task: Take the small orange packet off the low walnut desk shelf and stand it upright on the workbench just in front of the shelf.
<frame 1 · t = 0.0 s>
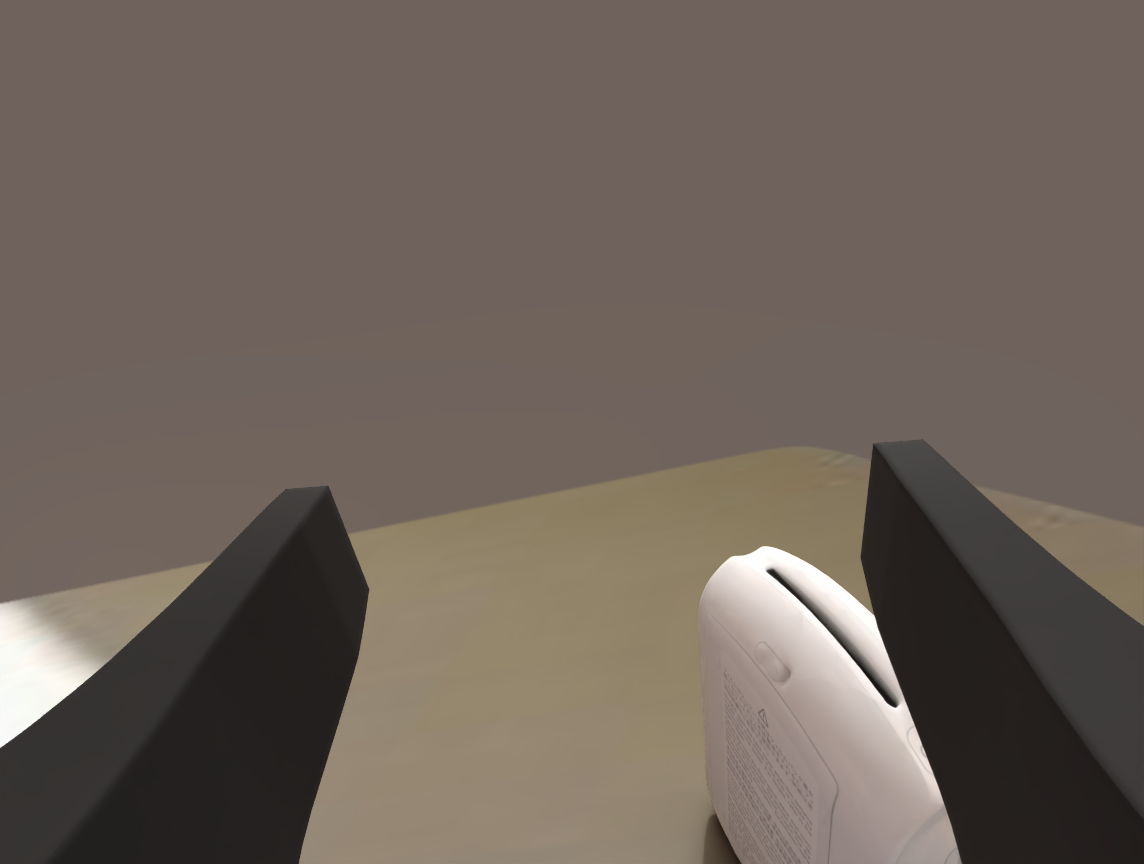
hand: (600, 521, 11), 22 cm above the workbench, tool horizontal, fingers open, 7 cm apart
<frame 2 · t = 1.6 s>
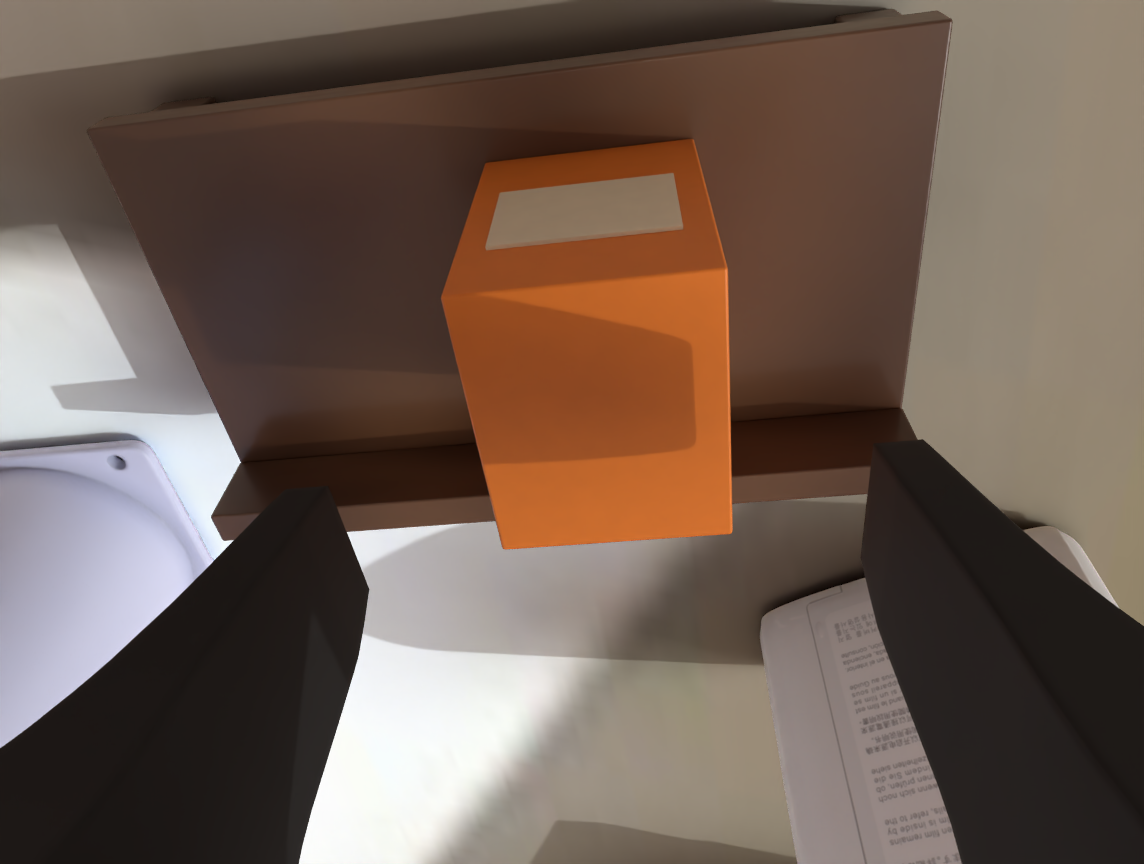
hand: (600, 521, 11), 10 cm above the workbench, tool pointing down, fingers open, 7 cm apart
photo printer: (907, 593, 27), on the workbench
shelf: (542, 242, 20), on the workbench
packet: (601, 269, 17), point 3 cm above the workbench, touching shelf
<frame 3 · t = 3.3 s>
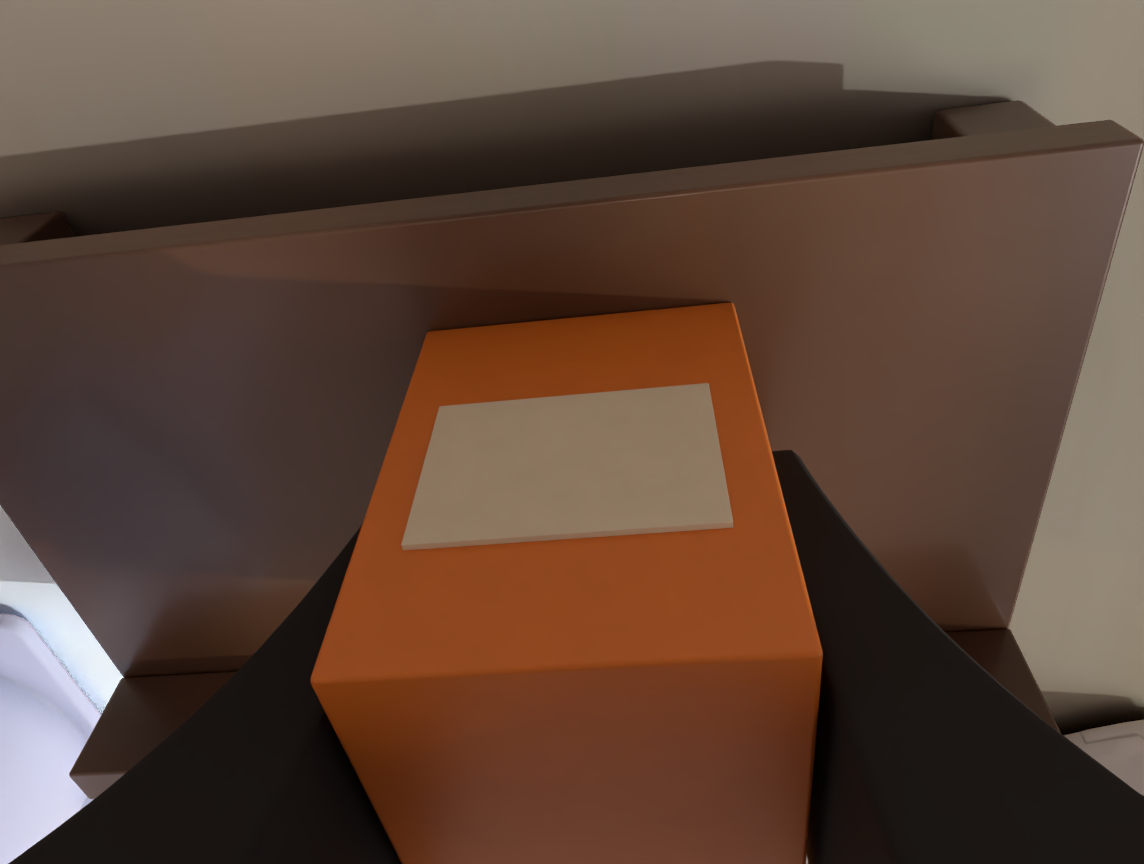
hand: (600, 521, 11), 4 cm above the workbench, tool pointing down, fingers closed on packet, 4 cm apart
photo printer: (977, 777, 22), on the workbench
shelf: (520, 393, 15), on the workbench
packet: (598, 465, 12), point 3 cm above the workbench, touching gripper, shelf
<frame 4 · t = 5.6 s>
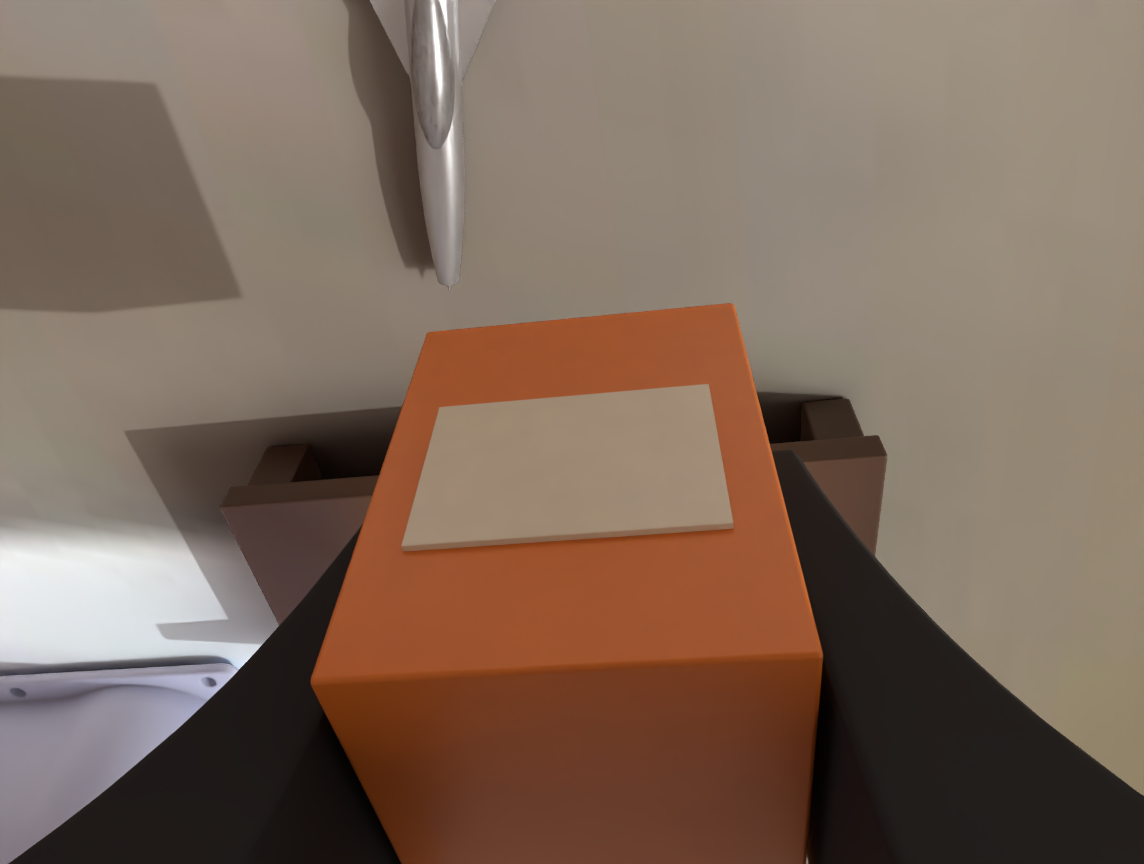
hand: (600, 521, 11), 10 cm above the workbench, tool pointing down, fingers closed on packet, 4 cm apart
shelf: (568, 536, 25), on the workbench
packet: (598, 465, 12), point 8 cm above the workbench, touching gripper
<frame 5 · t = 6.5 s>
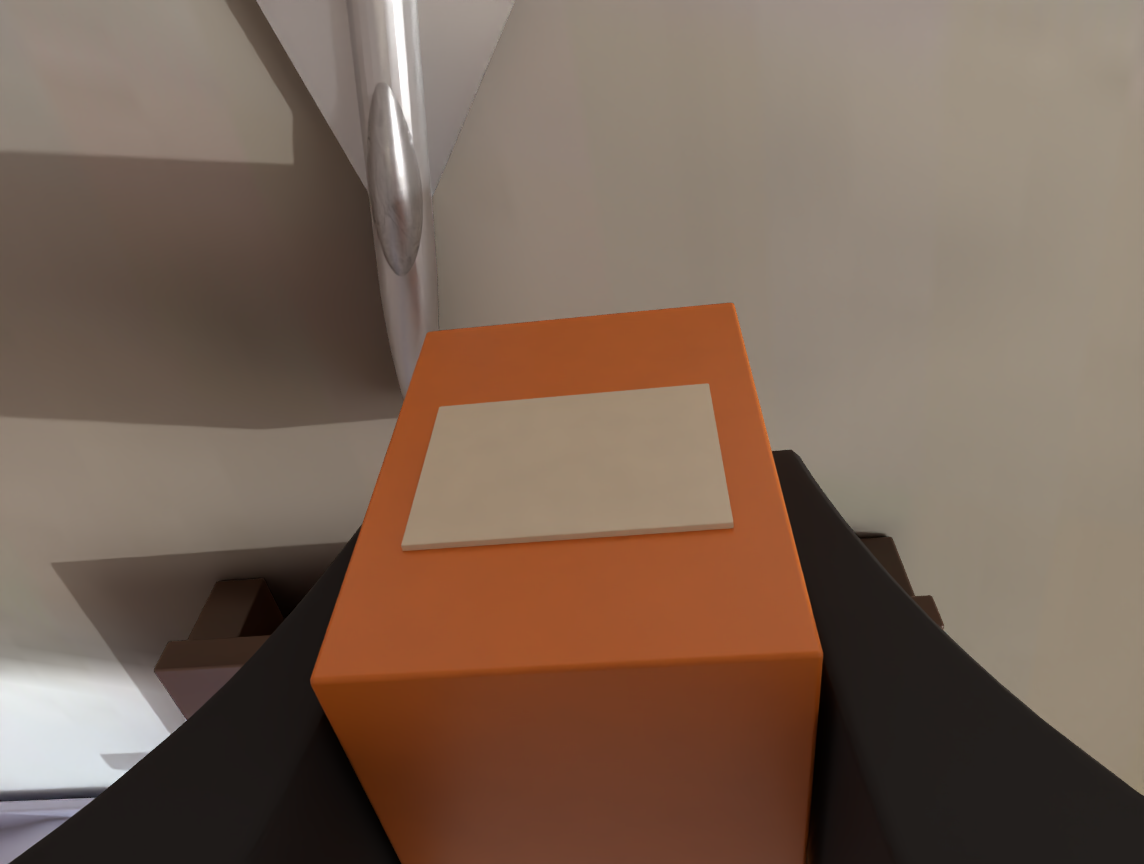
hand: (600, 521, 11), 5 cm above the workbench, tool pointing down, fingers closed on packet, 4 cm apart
shelf: (564, 673, 22), on the workbench
packet: (598, 465, 12), point 4 cm above the workbench, touching gripper
when the fingers open (2 cm above the workbench, at t = 7.8 s): packet stays where it is, resting on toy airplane.
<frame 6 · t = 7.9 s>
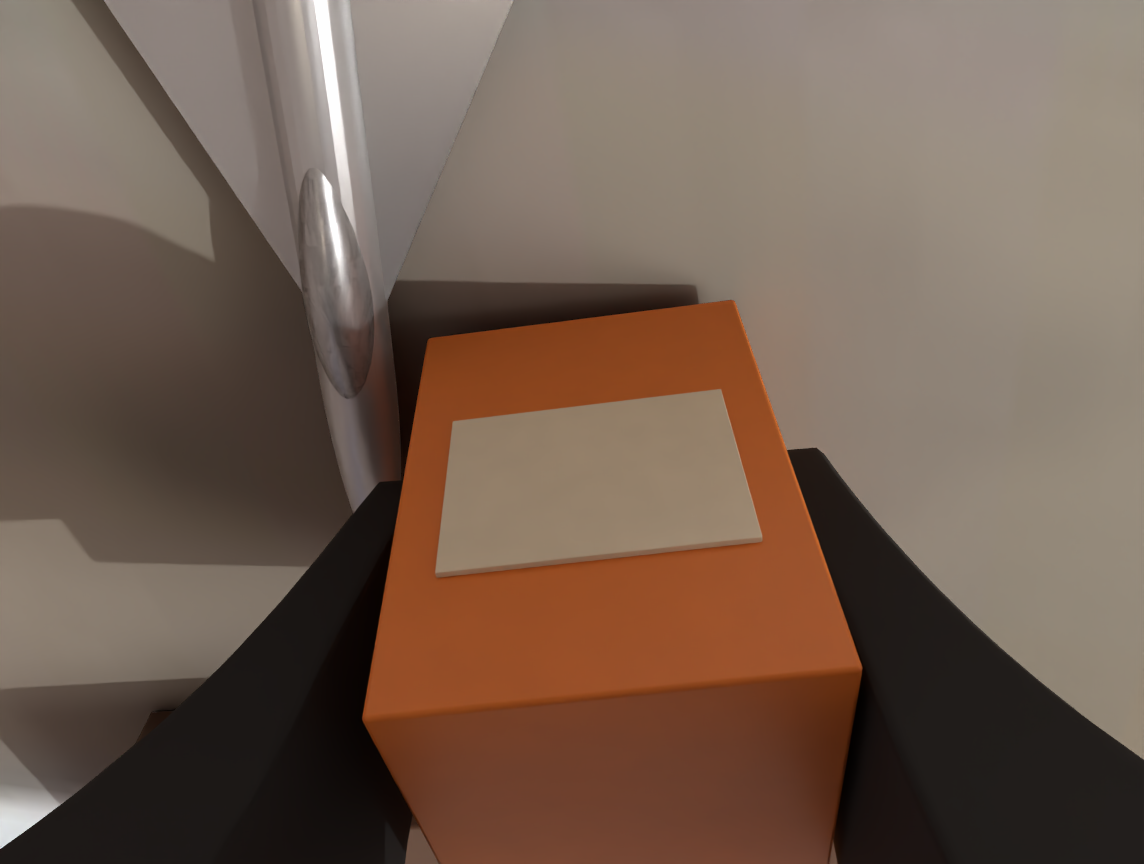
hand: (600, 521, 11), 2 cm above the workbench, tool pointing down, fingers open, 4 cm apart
shelf: (558, 806, 19), on the workbench
packet: (599, 460, 12), resting on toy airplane, touching gripper
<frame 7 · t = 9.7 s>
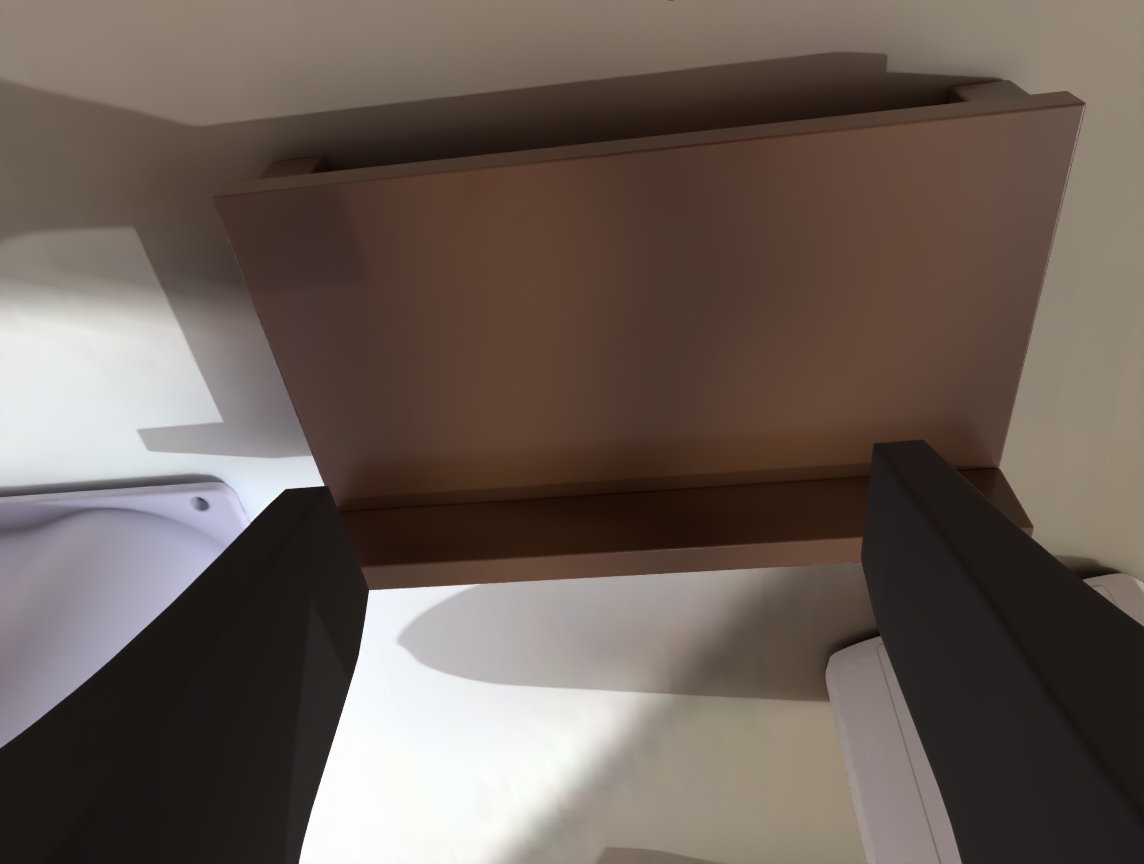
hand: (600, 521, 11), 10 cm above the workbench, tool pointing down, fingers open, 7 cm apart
photo printer: (974, 634, 27), on the workbench
shelf: (639, 298, 20), on the workbench
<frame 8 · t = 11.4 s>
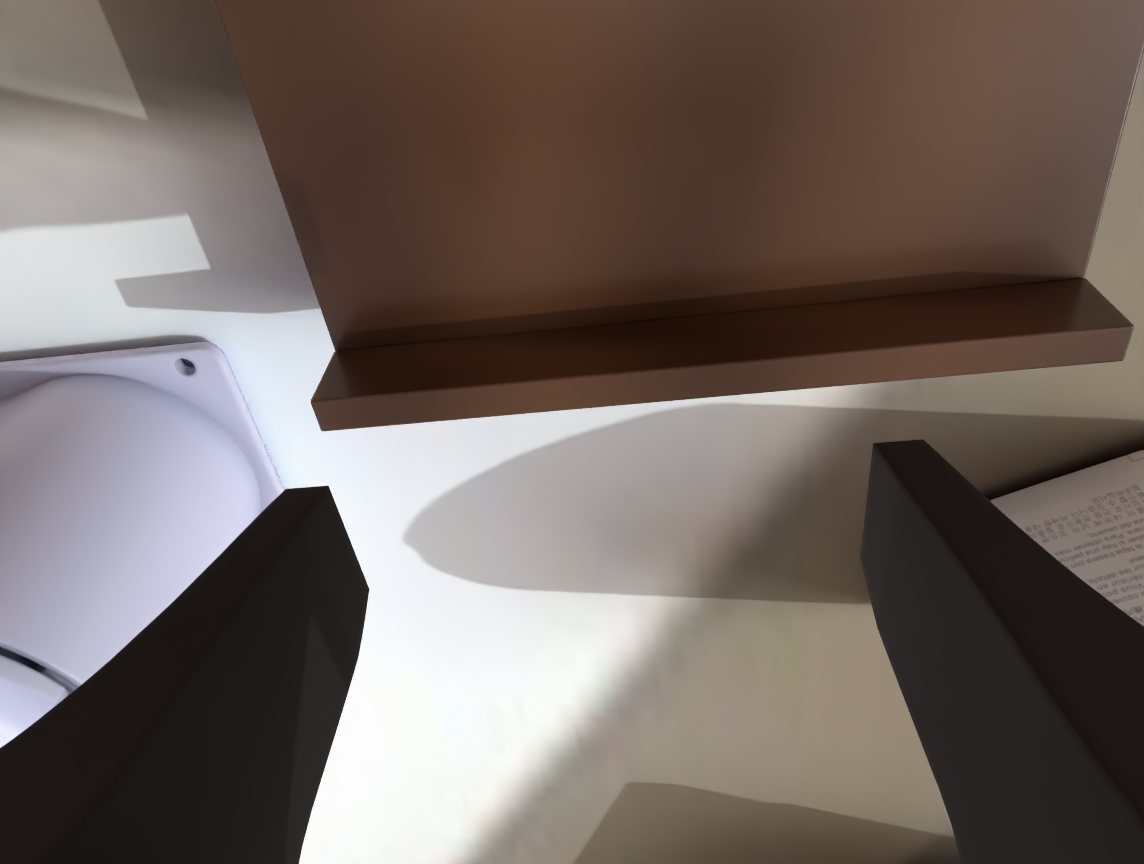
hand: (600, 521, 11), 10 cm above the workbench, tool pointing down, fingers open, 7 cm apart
photo printer: (1032, 520, 25), on the workbench
shelf: (675, 100, 18), on the workbench
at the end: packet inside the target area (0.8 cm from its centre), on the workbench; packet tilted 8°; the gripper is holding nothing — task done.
